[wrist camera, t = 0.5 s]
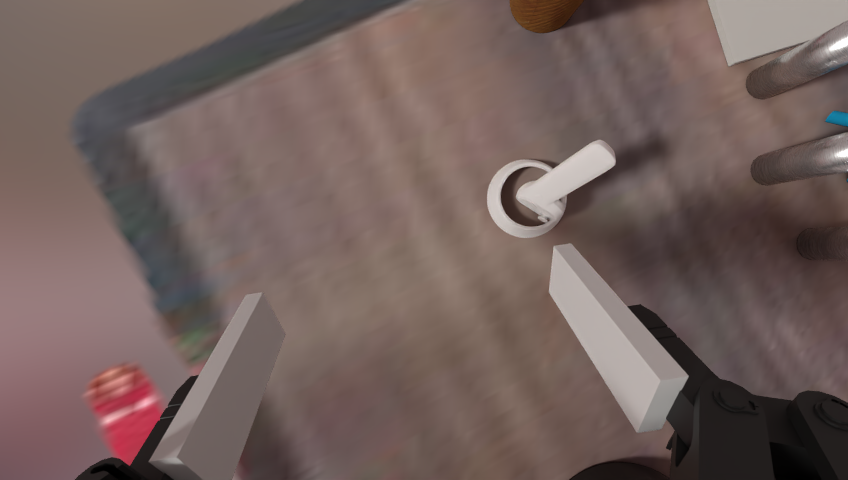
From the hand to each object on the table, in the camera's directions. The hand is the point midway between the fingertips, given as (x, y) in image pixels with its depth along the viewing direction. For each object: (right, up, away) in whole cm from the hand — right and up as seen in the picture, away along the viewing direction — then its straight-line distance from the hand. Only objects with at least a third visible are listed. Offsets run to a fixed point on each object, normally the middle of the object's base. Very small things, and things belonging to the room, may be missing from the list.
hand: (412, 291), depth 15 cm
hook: (+11, +6, +17) cm, 21 cm away
